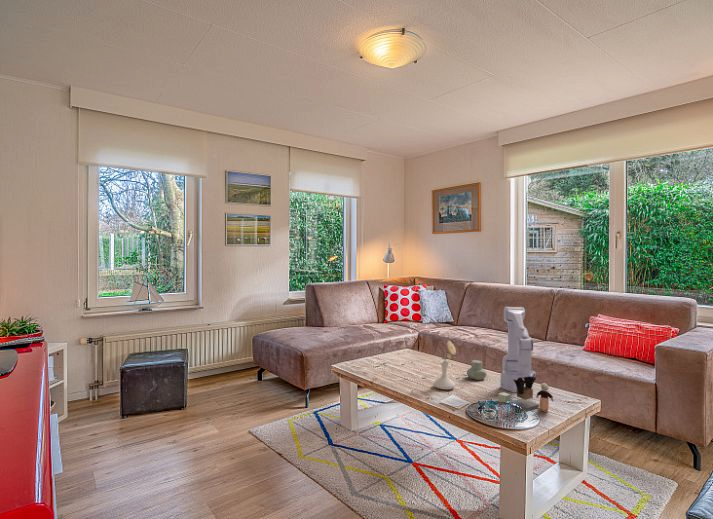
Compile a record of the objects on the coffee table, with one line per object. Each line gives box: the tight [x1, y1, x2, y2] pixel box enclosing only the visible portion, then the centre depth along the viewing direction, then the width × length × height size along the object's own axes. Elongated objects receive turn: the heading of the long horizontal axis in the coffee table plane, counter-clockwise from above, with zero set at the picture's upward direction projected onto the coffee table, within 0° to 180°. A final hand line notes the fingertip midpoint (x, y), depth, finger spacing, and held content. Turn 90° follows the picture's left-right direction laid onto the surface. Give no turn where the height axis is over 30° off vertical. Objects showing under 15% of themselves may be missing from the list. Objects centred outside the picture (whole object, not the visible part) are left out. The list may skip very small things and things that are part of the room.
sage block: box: [497, 391, 511, 403], centre depth 194 cm, size 4×4×4 cm
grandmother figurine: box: [535, 382, 555, 413], centre depth 183 cm, size 8×4×13 cm, turn 56°
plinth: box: [510, 398, 540, 412], centre depth 189 cm, size 9×9×2 cm
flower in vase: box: [433, 340, 457, 390], centre depth 215 cm, size 13×11×25 cm
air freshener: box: [466, 359, 487, 381], centre depth 231 cm, size 11×8×10 cm
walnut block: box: [516, 386, 534, 400], centre depth 189 cm, size 5×5×4 cm
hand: (524, 392), depth 189 cm, fingers closed on walnut block, 5 cm apart
